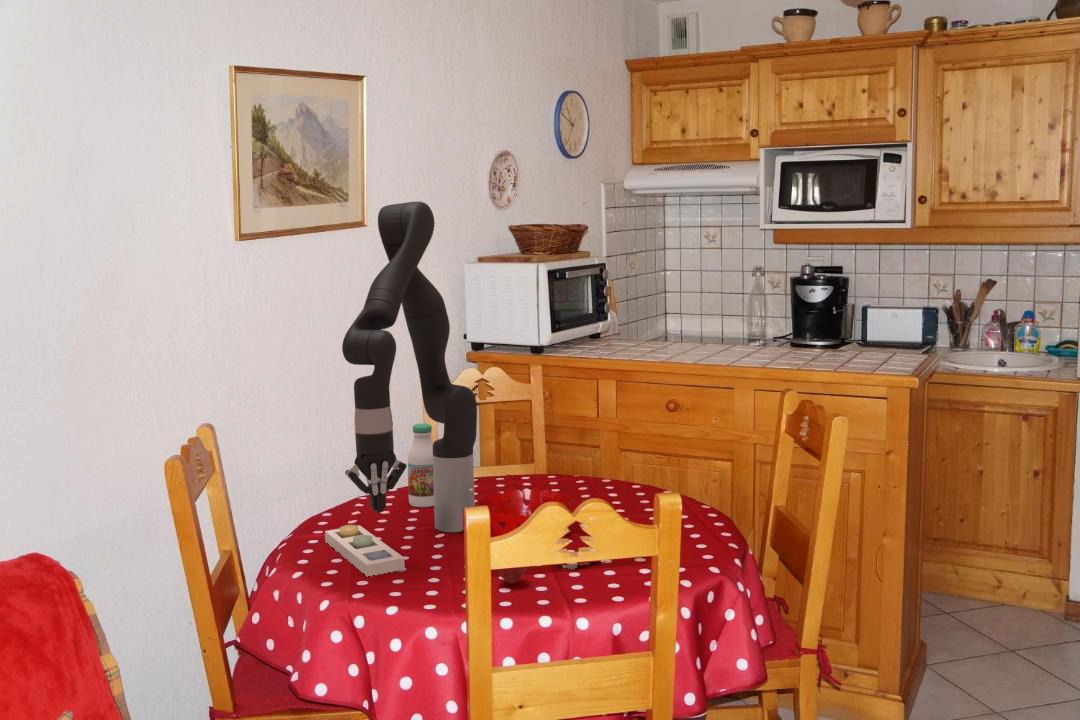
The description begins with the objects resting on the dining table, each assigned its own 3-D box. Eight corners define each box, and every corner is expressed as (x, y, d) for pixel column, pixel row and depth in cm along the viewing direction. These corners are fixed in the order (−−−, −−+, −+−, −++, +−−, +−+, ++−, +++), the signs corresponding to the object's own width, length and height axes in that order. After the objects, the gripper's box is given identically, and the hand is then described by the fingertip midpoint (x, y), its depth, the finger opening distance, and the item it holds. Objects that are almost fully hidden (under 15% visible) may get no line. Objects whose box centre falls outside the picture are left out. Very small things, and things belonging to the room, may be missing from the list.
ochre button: (354, 532, 232) (354, 523, 232) (361, 537, 229) (360, 528, 229) (337, 535, 230) (337, 526, 230) (343, 540, 227) (343, 531, 227)
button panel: (359, 535, 236) (359, 525, 235) (404, 569, 213) (404, 557, 213) (325, 542, 232) (324, 531, 231) (367, 576, 209) (366, 564, 209)
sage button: (368, 542, 225) (368, 533, 225) (375, 548, 222) (375, 538, 221) (350, 546, 223) (350, 537, 223) (357, 551, 220) (357, 542, 219)
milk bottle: (406, 501, 263) (403, 423, 260) (436, 498, 265) (434, 420, 263) (412, 509, 256) (409, 429, 253) (443, 506, 258) (440, 426, 255)
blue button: (383, 559, 218) (383, 550, 218) (390, 564, 214) (390, 555, 214) (365, 562, 216) (364, 553, 216) (372, 568, 212) (371, 559, 212)
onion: (523, 590, 201) (522, 549, 200) (494, 588, 202) (493, 548, 201) (529, 579, 207) (529, 540, 206) (501, 577, 208) (500, 539, 207)
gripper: (397, 420, 217) (401, 501, 220) (336, 429, 211) (341, 512, 213) (411, 427, 211) (415, 510, 214) (349, 436, 204) (354, 521, 207)
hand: (378, 511), depth 214 cm, fingers closed
